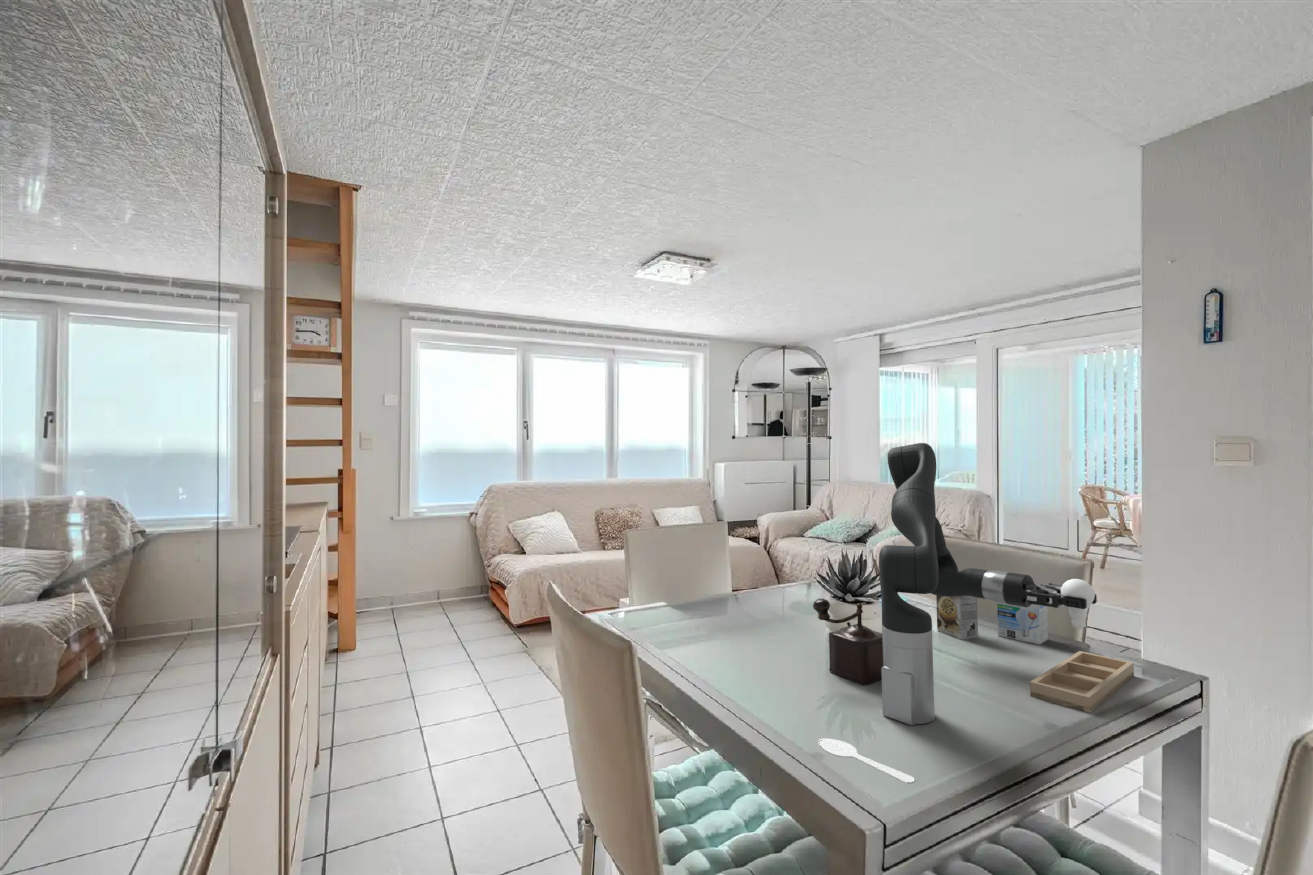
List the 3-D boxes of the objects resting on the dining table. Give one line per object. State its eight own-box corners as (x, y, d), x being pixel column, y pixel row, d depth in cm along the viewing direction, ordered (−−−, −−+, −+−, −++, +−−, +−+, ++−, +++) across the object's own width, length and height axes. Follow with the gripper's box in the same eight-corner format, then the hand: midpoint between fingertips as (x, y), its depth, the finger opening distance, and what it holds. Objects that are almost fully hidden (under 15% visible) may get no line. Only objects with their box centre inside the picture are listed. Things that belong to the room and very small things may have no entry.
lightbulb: (1101, 633, 127) (1100, 582, 127) (1070, 632, 128) (1068, 581, 128) (1086, 625, 133) (1085, 576, 133) (1056, 624, 134) (1055, 575, 134)
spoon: (904, 789, 92) (904, 786, 92) (810, 745, 106) (810, 742, 106) (922, 778, 95) (922, 774, 95) (828, 736, 110) (828, 733, 110)
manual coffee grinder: (856, 662, 147) (854, 589, 147) (894, 676, 137) (892, 598, 138) (810, 675, 139) (808, 598, 139) (848, 691, 129) (845, 608, 130)
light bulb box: (996, 636, 165) (995, 597, 165) (1005, 631, 169) (1004, 593, 170) (1041, 645, 157) (1039, 604, 157) (1048, 639, 161) (1047, 599, 162)
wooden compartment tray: (1089, 712, 117) (1089, 697, 117) (1030, 696, 125) (1029, 681, 125) (1134, 675, 135) (1133, 662, 135) (1079, 663, 143) (1079, 650, 143)
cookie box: (936, 630, 171) (934, 574, 171) (954, 628, 173) (952, 572, 173) (961, 640, 162) (959, 580, 162) (979, 637, 164) (977, 579, 164)
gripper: (994, 576, 138) (1079, 589, 125) (1019, 568, 147) (1101, 579, 133) (995, 609, 138) (1080, 625, 124) (1020, 598, 146) (1102, 612, 133)
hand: (1090, 601), depth 129 cm, fingers closed on lightbulb, 6 cm apart
